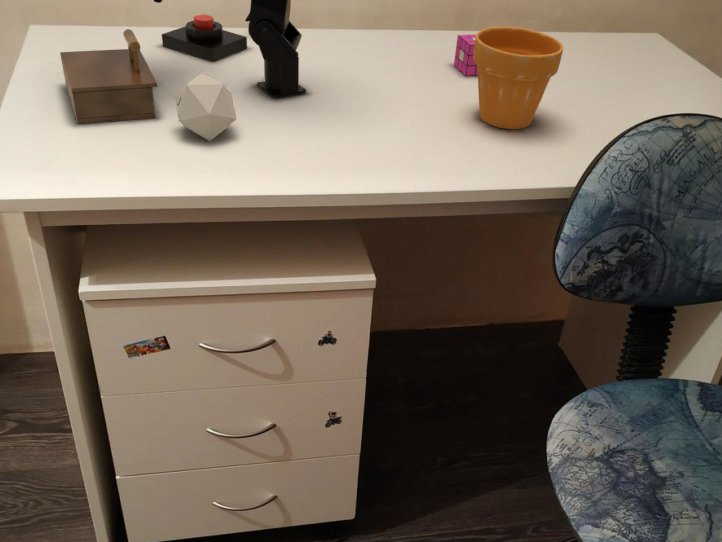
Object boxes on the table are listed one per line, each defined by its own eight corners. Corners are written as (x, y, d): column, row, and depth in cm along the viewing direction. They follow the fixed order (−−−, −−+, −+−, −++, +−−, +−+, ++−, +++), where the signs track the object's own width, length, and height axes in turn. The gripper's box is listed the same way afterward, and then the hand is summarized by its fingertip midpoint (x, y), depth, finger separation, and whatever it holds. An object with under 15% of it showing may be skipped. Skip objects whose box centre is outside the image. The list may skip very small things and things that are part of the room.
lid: (139, 52, 133) (135, 19, 130) (157, 86, 123) (153, 51, 119) (60, 55, 129) (54, 21, 126) (72, 92, 119) (65, 56, 115)
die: (195, 120, 128) (157, 78, 119) (243, 95, 126) (209, 50, 117) (202, 160, 124) (163, 119, 115) (252, 135, 122) (217, 92, 113)
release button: (218, 27, 150) (217, 17, 149) (205, 32, 147) (204, 21, 146) (202, 23, 151) (202, 13, 150) (190, 27, 149) (189, 17, 147)
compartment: (138, 81, 136) (134, 52, 133) (155, 118, 126) (152, 87, 123) (66, 86, 132) (60, 56, 129) (77, 124, 122) (72, 92, 119)
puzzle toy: (492, 74, 153) (497, 44, 150) (465, 76, 152) (469, 45, 148) (479, 64, 157) (484, 34, 154) (453, 65, 156) (457, 34, 152)
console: (247, 48, 153) (246, 26, 150) (213, 62, 146) (211, 39, 143) (198, 34, 157) (196, 12, 154) (162, 46, 150) (160, 23, 147)
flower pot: (489, 96, 145) (502, 20, 136) (560, 119, 139) (578, 42, 131) (448, 118, 135) (459, 38, 127) (522, 144, 130) (538, 62, 121)
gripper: (117, -126, 127) (130, -19, 138) (69, -105, 113) (86, 12, 123) (186, -118, 127) (193, -11, 137) (146, -96, 113) (157, 21, 123)
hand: (158, 1), depth 130 cm, fingers closed
